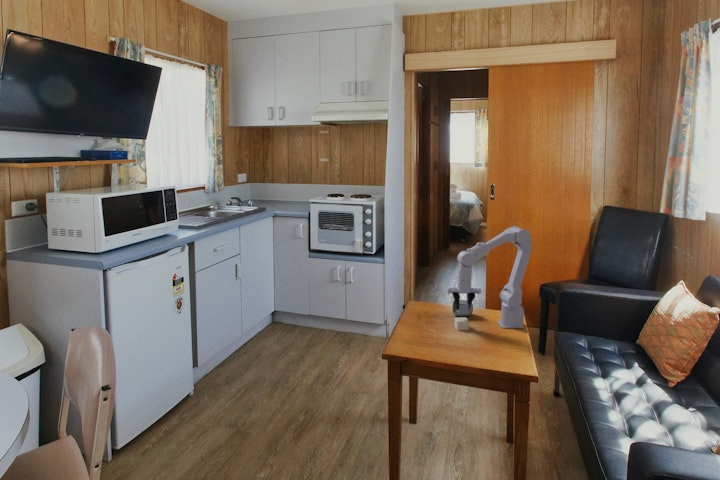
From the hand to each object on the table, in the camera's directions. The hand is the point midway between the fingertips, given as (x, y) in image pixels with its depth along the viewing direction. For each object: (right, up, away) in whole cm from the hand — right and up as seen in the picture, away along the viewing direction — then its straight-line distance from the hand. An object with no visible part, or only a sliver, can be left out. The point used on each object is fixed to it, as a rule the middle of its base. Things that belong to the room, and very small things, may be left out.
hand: (462, 309), depth 222 cm
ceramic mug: (+3, -5, +18) cm, 19 cm away
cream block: (0, -9, +2) cm, 9 cm away
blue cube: (0, -2, 0) cm, 2 cm away
